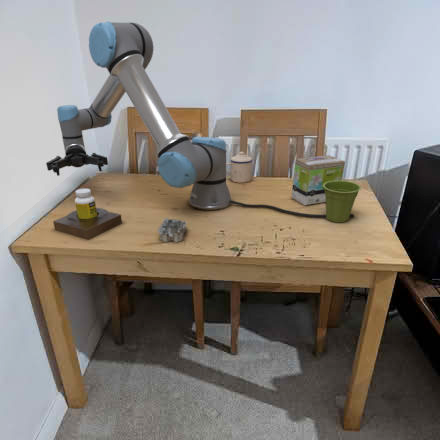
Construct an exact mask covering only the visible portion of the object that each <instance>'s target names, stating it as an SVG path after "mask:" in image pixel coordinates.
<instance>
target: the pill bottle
mask: <svg viewBox="0 0 440 440" xmlns="http://www.w3.org/2000/svg"><path fill="white" fill-rule="evenodd" d="M75 196H76V197H75V199H74V205H75V210H77V215H78V218H80V219H89V218H94V217H96V216H97V210H96V208H97V205H96V199H95V197H94V196H92V191H91V189H90V188H79V189H76V190H75Z"/></svg>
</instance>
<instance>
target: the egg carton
mask: <svg viewBox="0 0 440 440" xmlns="http://www.w3.org/2000/svg"><path fill="white" fill-rule="evenodd" d="M186 226H187V222H186V220H183V221H181V219H173V218H171V219H169V218H167V217H165V218H164V219H163V222H162V223H161V224H160V226H159V228H158V229H157V231H158V234H159V239H160V241H162V242H164V243H167V242H169V241H174V243H178V242H181V241H183V239H184V236H185V233H186V231H187V230H186Z"/></svg>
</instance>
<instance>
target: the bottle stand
mask: <svg viewBox="0 0 440 440" xmlns="http://www.w3.org/2000/svg"><path fill="white" fill-rule="evenodd" d="M96 210H97V216H96V217H94V218H89V219H80V218H78V215H77V210H76V209H75V210H73V211H71V212H69V213H68V214H66V215H65V216H62V217H60V218H58V219H55V220H53V221H52V223H53V227H54V230H55V231H58V232H61V233H64V234H67V235H71V236H75V237H77V238H82V239H84V240H88V241H89V240H91V239H93V238H95V237H97V236H99V235H101V234H103V233H105V232H107V231H109V230H112V229H113V228H115V227H117V226H120V225H121V224H123V220H122V214H119V213H116V212H112V211H108V210H107V209H105V208H102V207H96Z"/></svg>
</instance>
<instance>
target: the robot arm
mask: <svg viewBox="0 0 440 440" xmlns="http://www.w3.org/2000/svg"><path fill="white" fill-rule="evenodd" d="M88 51H89V54H90V57H91V59H92V61H93V63H94V64H95V65H96V66H97V67H100V68H102V69H106V70H107V71H108V73H109V75H108V77H107V78H106V80H105V82H104V83H103V85H102V86H101V88H100V90H99V91H98V93H97V94H96V96H95V98H94V100H93V101H92V103H91V104H90V106H89V107H86V108H80V109H79V108H78V106H77V105H74V104H66V105H65V104H64V105H60V106H58V107H57V110H56V111H57V112H56V113H57V120H58V124H59V127H60V131H61V137H62V143H63V148H64V152H65V153H64V154H65V156H64V157H61V156H60V155H57V156H56V157H54V158H52V159H51V160H49V161H47V162H45V163H46V164H45V165H46V168H47V171H52V172H53V173H55V174H56V176H57V177H59V176H60V169H63V168H65V167H68V168H69V167H73V168H82V167H84V166H89V165H93V166H97V169H98V171H99V172H102V171H103V169H102V168H103V167H105V166H108V165H109V161H108V157H107V156H104V155H101V154H97V153H96V152H92V153H91V154H90V155H89V154H87V151H86V147H85V142H84V135H83V131H88V130H92V129H98V128H104V127H106V126H109V125H110V124H111V123H112V119H113V117H112V112H113V111H114V110H115V108H116V106H117V105H119V104H118V103H120V101H121V99H122V98H123V96H124V95H125V93H126V94H127V96H128V98H129V100H130V102H131V103H132V105H133V107H134V108H135V110H136V112H137V113H138V115H139V117H140V118H141V120H142V122H143V124H144V126H145V127H146V129H147V131H148V132H149V135H150V136H151V138H152V140H153V141H154V143H155V145H156V146H157V153H156V155H157V158H158V161H157V166H158V168H157V170H158V173H159V175H160V177H161V179H162V180H163V181H164V182H165V183H166V184H167V185H168V186H170V187H172V188H175V189H182V188H186V187H190V186H192V188H191V192H190V194H189V195H190V196H189V205H190V206H191V207H192V208H194V209H197V210H201V211H218V210H223V209H226V208H228V207H230V206H231V204H233V205H237V206H241V207H245V208H267V209H272V210H275V211H278V212H281V213H285V214H288V215H294V216H299V217H306V218H326V214H315V213H303V212H297V211H293V210H287V209H284V208H280V207H278V206H275V205H270V204H261V203H260V204H251V203H250V204H247V203H244V202H239V201H236V200H232V196H231V194H230V189H229V186H228V184H227V174H226V171H227V165H226V163H227V152H228V151H227V143H226V141H225V140H224V139H222V138H219V137H212V136H195V137H192V139H190V138H189V137H190V136H188V135H186V134H184V133H181V131H180V129H179V128H178V126H177V124H176V121H174V119H173V117H172V116H171V114H170V111H169V110H168V109H167V107H166V104H165V103H164V101H163V99H162V97H161V96H160V94H159V92H158V91H157V88H156V87H155V85H154V84H153V82H152V80H151V79H150V76H149V75H148V73H147V72H146V69H147V68H148V67H149V64H150V63H151V61H152V59H153V55H154V41H153V39H152V35H151V34H150V32H149V31H148V30H147V28H145V26H143V25H141V24H139V23H137V22H111V21H107V20H106V21H104V22H98V23H96V24H94V25H93V26H92V28H91V30H90V32H89V36H88ZM354 217H355V213H350V216H349V218H354ZM326 219H327V218H326Z"/></svg>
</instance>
